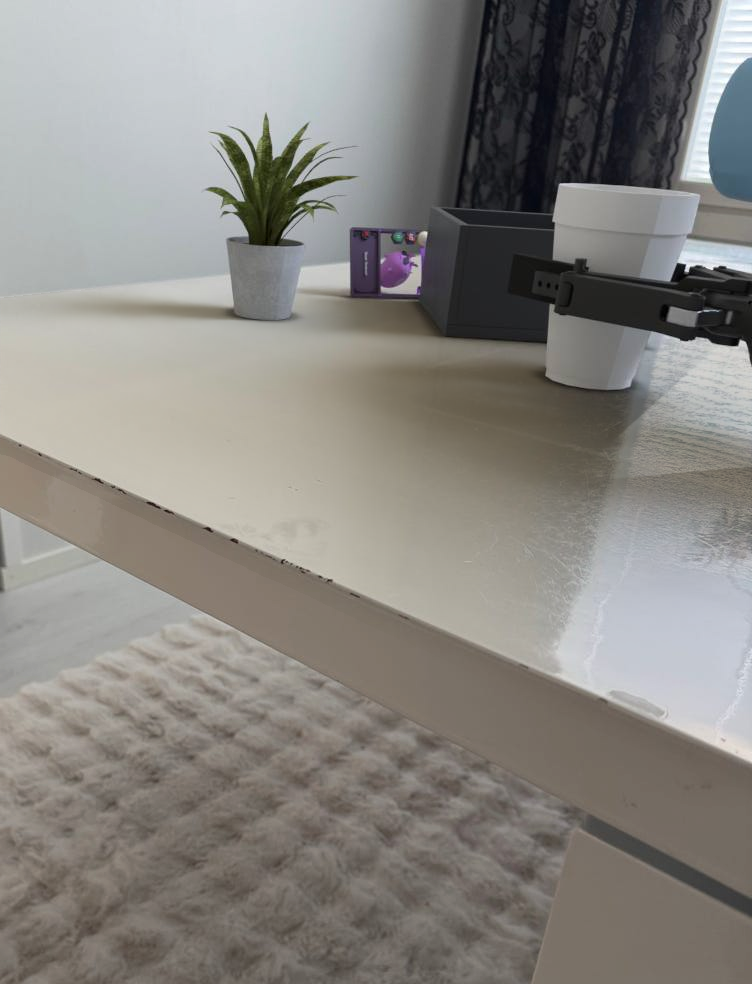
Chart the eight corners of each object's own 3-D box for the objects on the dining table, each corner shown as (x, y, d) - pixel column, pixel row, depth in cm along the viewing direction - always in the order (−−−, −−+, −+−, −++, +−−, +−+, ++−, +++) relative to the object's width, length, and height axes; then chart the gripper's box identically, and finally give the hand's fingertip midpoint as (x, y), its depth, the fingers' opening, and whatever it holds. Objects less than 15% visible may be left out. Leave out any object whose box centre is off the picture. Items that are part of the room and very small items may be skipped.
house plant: (285, 340, 78) (300, 112, 70) (150, 315, 84) (150, 102, 76) (364, 318, 89) (384, 118, 81) (239, 297, 95) (247, 109, 87)
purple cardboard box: (353, 225, 97) (435, 228, 99) (337, 237, 102) (416, 240, 104) (353, 294, 98) (435, 296, 100) (338, 303, 103) (416, 305, 105)
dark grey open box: (586, 311, 99) (606, 217, 95) (643, 348, 84) (670, 237, 80) (418, 301, 99) (430, 206, 95) (444, 336, 83) (460, 224, 79)
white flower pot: (599, 362, 77) (638, 186, 71) (680, 392, 70) (731, 197, 64) (500, 366, 74) (531, 181, 68) (573, 397, 67) (616, 193, 60)
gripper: (707, 413, 52) (443, 330, 69) (924, 382, 62) (649, 316, 79) (748, 267, 48) (458, 217, 65) (971, 260, 59) (672, 218, 75)
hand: (563, 271), depth 72 cm, fingers closed on white flower pot, 9 cm apart
